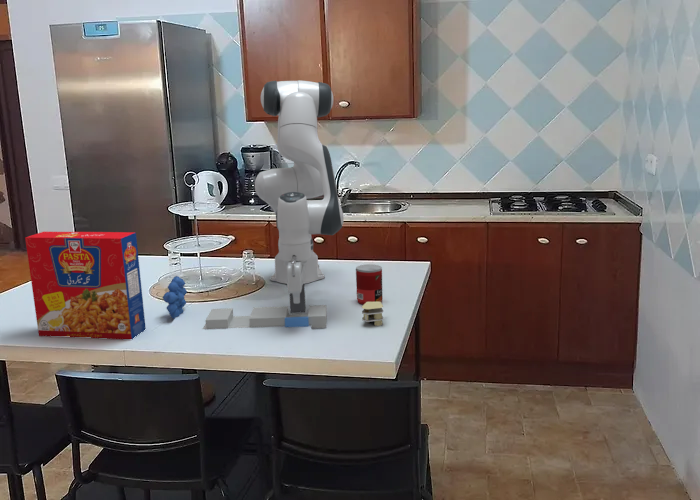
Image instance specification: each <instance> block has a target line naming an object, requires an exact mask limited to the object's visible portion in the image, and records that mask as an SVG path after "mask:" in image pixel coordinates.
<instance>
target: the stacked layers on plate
mask: <svg viewBox="0 0 700 500" xmlns="http://www.w3.org/2000/svg"><path fill="white" fill-rule="evenodd" d="M382 303H383V302H380V301H379V302H366V303H365V304H364V305H362V306H361V309H362V310H361V314H363V317H362V319H361V320H362V321H363V322H366V323H370V322H374V325H373V326H382V325H383V320H384V316H383V313H384V309H383V308H384V305H383V304H382Z"/></svg>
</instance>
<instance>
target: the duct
mask: <svg viewBox="0 0 700 500" xmlns="http://www.w3.org/2000/svg"><path fill="white" fill-rule="evenodd" d="M327 309H328V308H327V304H320V305H314V304H313V305H308V310H307V311H308V313H299V314H298V313H291V314H290V313H289V312H290V311H289V310H290V309H289V306H288V305H286V306H285V305H284V306H263V307H262V306H260V307H259V306H258V307H256V306H255V307H253V308H252V310H251V313H250V315H239V316H238V315H237V316H236V315H234V307H231V308H229V307H228V308H227V307H226V308H211V310H210V311H209V313H208V315H207V317H206V319H204V320H205V321H204V322H205V324H204V325H203V327H202V330H216V329H243V328H244V329H245V328H247V329H248V328H271V327H272V328H275V327H285V328H299V327H302V328H304V327H310V326H311V327H310V328H311V329H315V330H316V329H327V324H328V323H327V319H328V315H327V314H328V313H327V312H328V311H327Z"/></svg>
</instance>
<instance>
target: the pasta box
mask: <svg viewBox="0 0 700 500" xmlns="http://www.w3.org/2000/svg"><path fill="white" fill-rule="evenodd" d="M24 238H25V245H26V254H27V260H28V268H29V276H30V281H31V289H32V296H33V302H34V308H35V309H34V311H35V318H36V324H37V331H38V336H39V337H51V336H70V337H69V338H75V337H91V338H90V339H99V338H107V339H106V340H123V339H132V340H133V338H134V337H135V336H136V337H138V336H139V335H140V333H141V332H142V333H143V332H145V331H146V330H147V328H146V319H145V309H144V308H145V307H144V299H143V289H142V288H143V287H142V281H141V271H140V269H141V268H140V262H139V261H140V260H139V252H138V242H137V241H138V239H137V233H136V232H129V231H127V232H123V231H120V232H119V231H115V232H114V231H41V232H38V233H35V234H32V235H29V236H27V237H24ZM145 329H146V330H145ZM144 330H145V331H144ZM142 333H141V334H142ZM138 334H139V335H138ZM137 335H138V336H137ZM136 337H135V338H136ZM135 338H134V339H135Z"/></svg>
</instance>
